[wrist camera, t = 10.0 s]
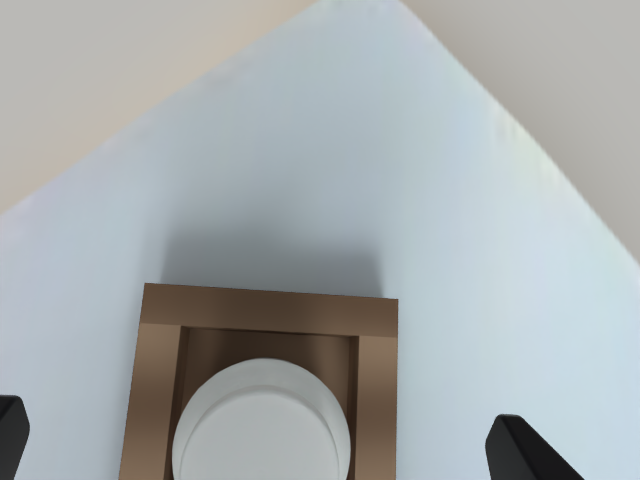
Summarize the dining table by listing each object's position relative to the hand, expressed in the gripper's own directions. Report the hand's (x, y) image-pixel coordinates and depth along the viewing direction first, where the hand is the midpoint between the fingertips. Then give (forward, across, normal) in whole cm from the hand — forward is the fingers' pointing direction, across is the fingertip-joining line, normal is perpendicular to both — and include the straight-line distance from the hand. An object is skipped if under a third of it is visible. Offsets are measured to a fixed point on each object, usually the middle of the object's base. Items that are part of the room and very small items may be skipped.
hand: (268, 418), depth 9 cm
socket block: (+8, 0, +10) cm, 13 cm away
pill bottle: (+8, 0, +10) cm, 13 cm away
